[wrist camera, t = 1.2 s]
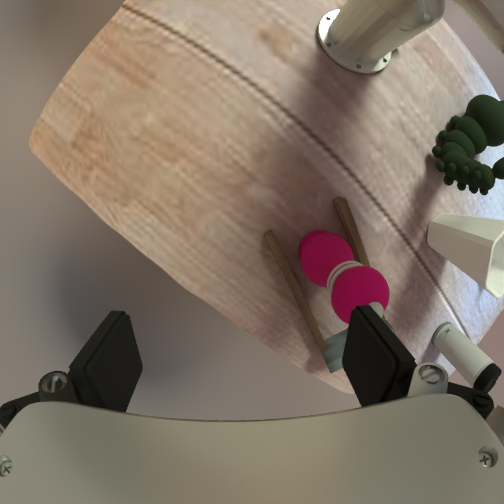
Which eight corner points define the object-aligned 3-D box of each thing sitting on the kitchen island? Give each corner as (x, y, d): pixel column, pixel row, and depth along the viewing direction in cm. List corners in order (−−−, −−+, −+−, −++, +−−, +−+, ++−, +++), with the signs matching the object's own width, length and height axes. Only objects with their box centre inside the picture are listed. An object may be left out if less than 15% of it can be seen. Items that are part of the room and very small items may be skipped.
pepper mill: (329, 278, 42) (388, 354, 23) (288, 265, 41) (326, 344, 22) (347, 235, 40) (423, 288, 21) (305, 220, 39) (363, 267, 20)
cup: (465, 222, 40) (529, 246, 24) (444, 268, 43) (503, 305, 26) (433, 192, 38) (506, 210, 22) (409, 243, 41) (477, 280, 24)
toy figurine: (433, 192, 40) (492, 121, 34) (506, 220, 22) (556, 125, 16) (406, 151, 38) (470, 83, 31) (482, 159, 20) (536, 74, 14)
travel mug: (435, 323, 46) (491, 377, 27) (455, 319, 47) (508, 368, 28) (427, 347, 48) (475, 403, 29) (446, 343, 49) (494, 393, 29)
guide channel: (339, 196, 38) (355, 201, 32) (381, 321, 45) (396, 338, 39) (264, 233, 39) (268, 244, 34) (321, 352, 46) (330, 373, 40)
